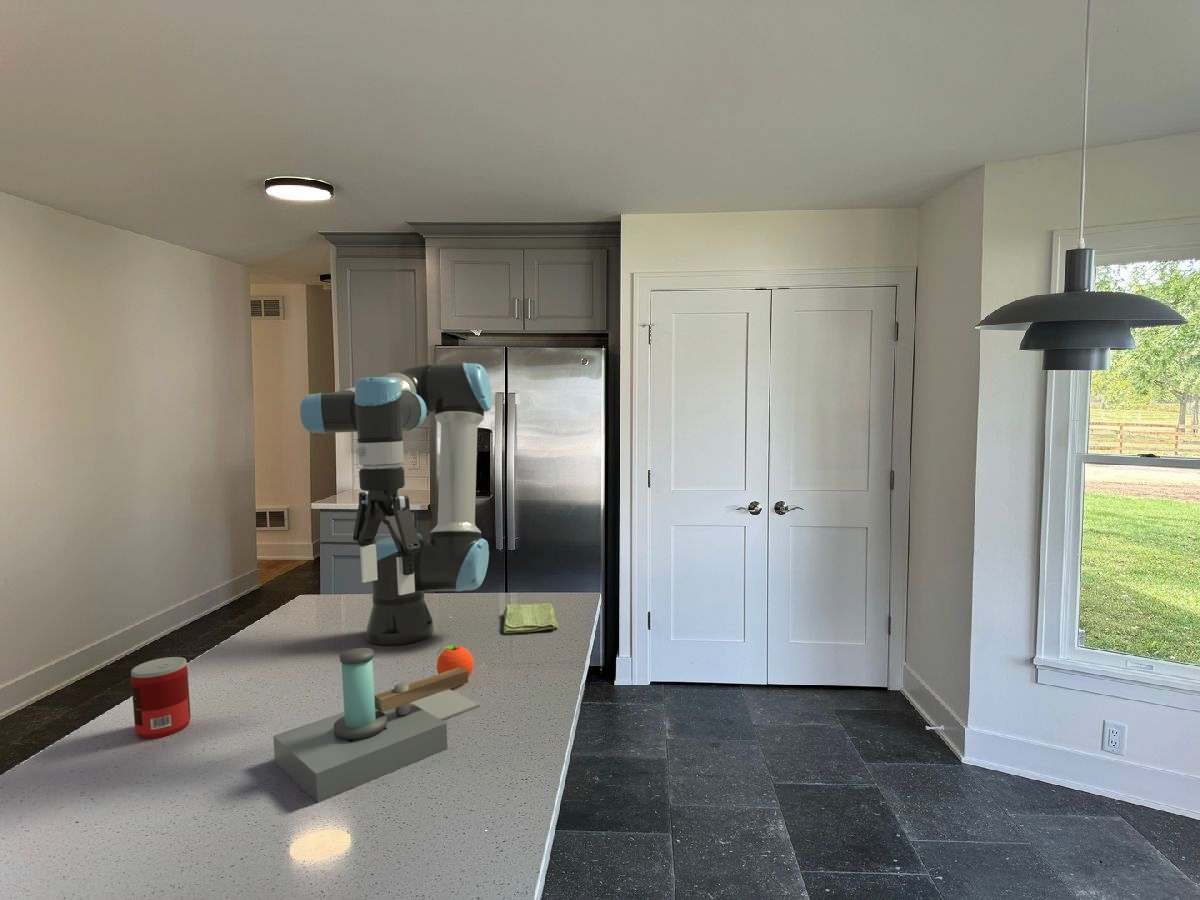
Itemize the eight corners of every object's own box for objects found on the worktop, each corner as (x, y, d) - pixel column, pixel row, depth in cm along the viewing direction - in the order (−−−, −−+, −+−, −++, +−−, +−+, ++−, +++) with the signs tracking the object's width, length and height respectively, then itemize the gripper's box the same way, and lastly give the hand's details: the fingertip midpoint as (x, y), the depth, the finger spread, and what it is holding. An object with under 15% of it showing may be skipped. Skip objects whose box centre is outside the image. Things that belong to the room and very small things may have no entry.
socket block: (274, 761, 104) (273, 735, 104) (397, 717, 118) (395, 694, 118) (317, 802, 93) (316, 773, 93) (447, 748, 107) (446, 723, 106)
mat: (399, 708, 122) (399, 706, 122) (448, 690, 129) (448, 688, 129) (428, 725, 115) (428, 723, 114) (479, 706, 121) (479, 704, 121)
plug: (327, 755, 106) (321, 654, 105) (374, 738, 111) (369, 641, 110) (348, 773, 100) (342, 666, 99) (397, 754, 105) (392, 652, 104)
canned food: (201, 721, 119) (197, 658, 119) (158, 742, 112) (153, 676, 111) (168, 715, 122) (164, 654, 121) (124, 736, 114) (119, 671, 114)
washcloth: (502, 637, 159) (502, 624, 159) (503, 615, 177) (503, 602, 176) (559, 633, 161) (559, 620, 161) (554, 611, 178) (554, 599, 178)
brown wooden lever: (374, 718, 108) (373, 691, 108) (460, 688, 119) (459, 663, 119) (382, 723, 106) (381, 696, 106) (468, 692, 117) (467, 667, 117)
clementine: (425, 685, 132) (423, 648, 131) (449, 672, 138) (447, 637, 137) (458, 692, 128) (457, 654, 128) (481, 678, 134) (480, 642, 134)
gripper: (330, 465, 127) (336, 580, 128) (396, 471, 109) (402, 604, 110) (369, 462, 132) (374, 572, 133) (438, 467, 114) (444, 594, 115)
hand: (387, 587), depth 122 cm, fingers open, 13 cm apart
